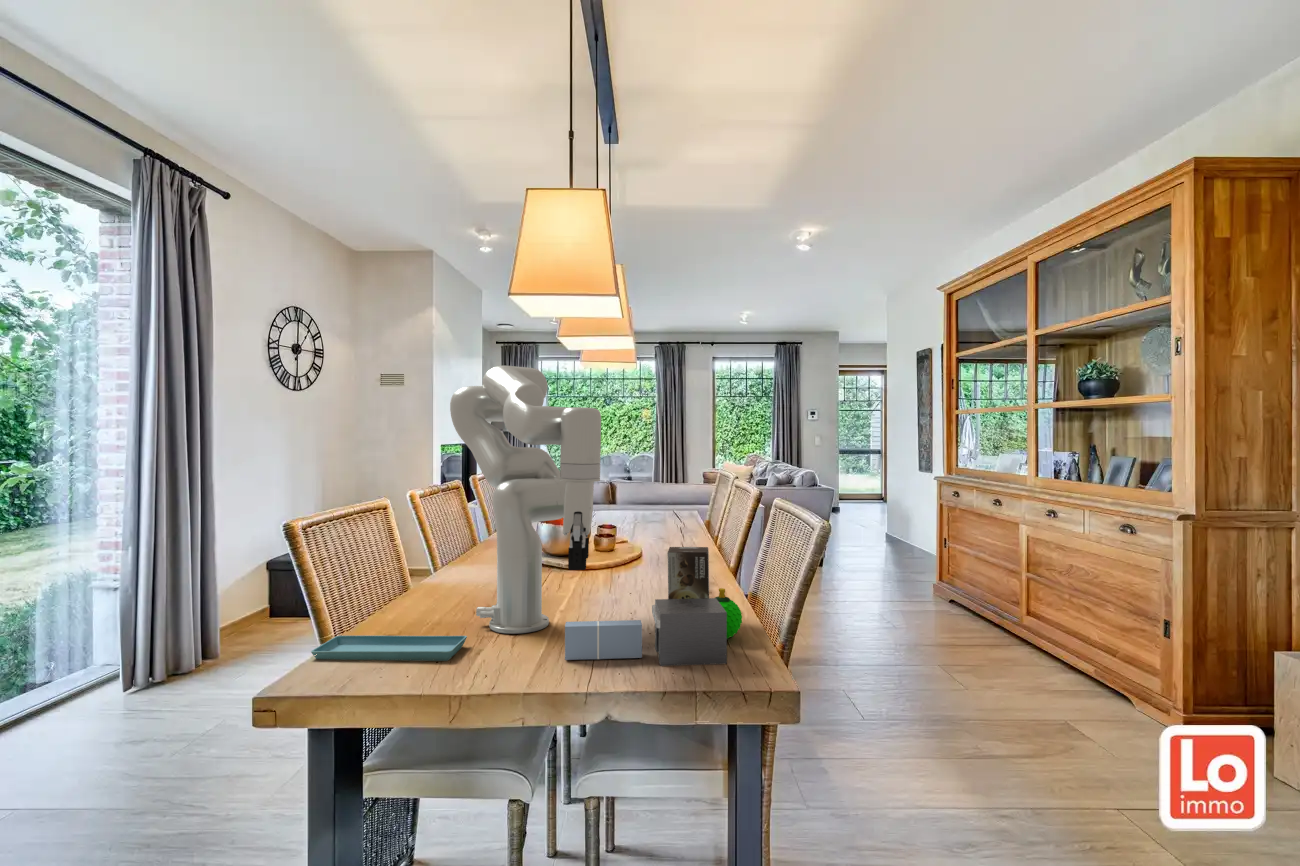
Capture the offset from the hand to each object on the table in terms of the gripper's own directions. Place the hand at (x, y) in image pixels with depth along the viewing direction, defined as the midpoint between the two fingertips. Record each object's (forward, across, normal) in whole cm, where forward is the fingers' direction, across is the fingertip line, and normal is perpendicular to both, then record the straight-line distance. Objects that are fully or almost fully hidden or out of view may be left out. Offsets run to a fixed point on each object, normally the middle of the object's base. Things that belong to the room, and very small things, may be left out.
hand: (578, 563), depth 115 cm
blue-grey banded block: (+17, +3, +5) cm, 18 cm away
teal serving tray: (+18, -2, -35) cm, 40 cm away
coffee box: (+17, -19, +24) cm, 35 cm away
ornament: (+17, -7, +29) cm, 34 cm away
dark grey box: (+16, +2, +21) cm, 27 cm away
